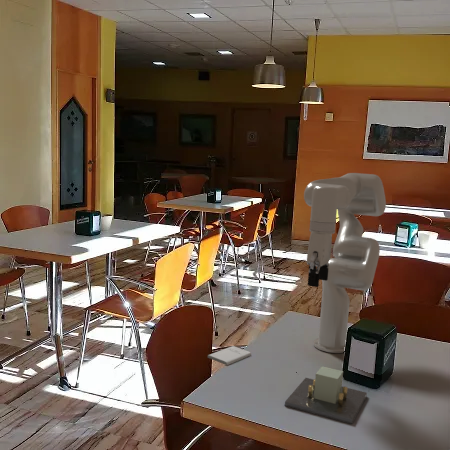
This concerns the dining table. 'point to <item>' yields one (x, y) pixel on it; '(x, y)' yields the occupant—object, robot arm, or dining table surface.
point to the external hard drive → (229, 355)
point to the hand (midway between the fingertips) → (317, 282)
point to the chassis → (340, 411)
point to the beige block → (328, 384)
